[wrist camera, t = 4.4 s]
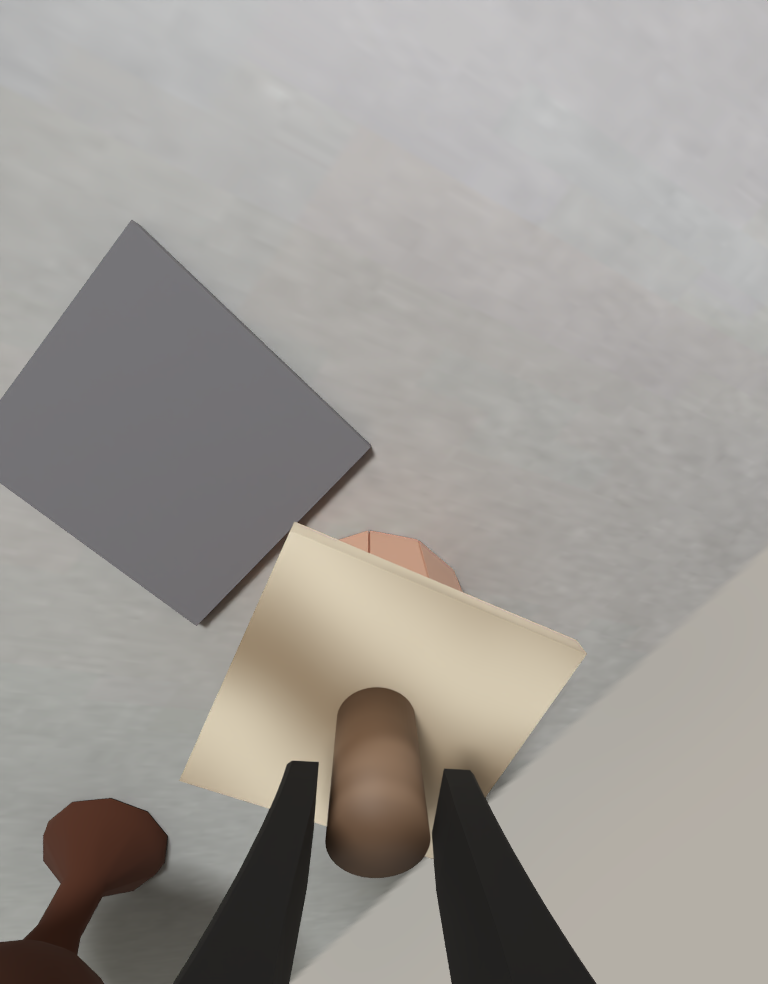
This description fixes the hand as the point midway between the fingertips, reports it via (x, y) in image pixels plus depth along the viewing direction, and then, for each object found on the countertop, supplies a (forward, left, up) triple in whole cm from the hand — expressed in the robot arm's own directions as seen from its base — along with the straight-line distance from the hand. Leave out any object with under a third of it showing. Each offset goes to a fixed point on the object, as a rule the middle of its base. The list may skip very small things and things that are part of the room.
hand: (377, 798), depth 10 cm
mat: (+5, -8, -7) cm, 12 cm away
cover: (0, 0, -3) cm, 3 cm away
